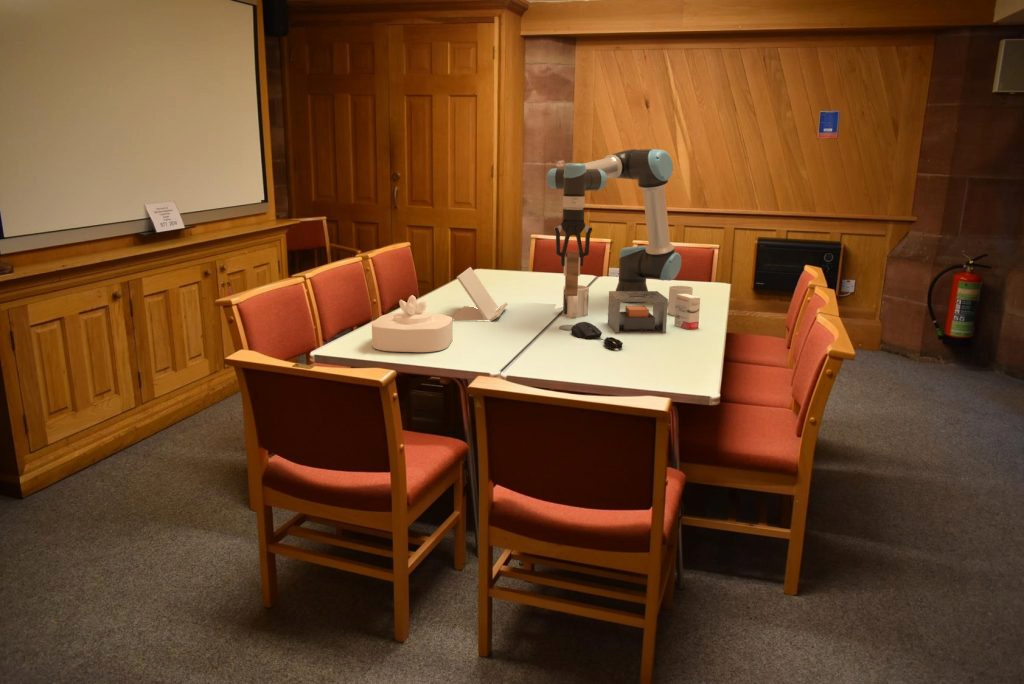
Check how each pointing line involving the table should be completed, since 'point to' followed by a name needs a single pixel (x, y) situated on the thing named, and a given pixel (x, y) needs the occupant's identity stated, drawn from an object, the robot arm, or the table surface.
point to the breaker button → (636, 311)
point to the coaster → (566, 327)
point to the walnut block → (572, 274)
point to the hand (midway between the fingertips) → (571, 275)
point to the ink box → (687, 311)
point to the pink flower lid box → (412, 329)
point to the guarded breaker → (637, 323)
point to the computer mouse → (594, 334)
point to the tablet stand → (477, 299)
